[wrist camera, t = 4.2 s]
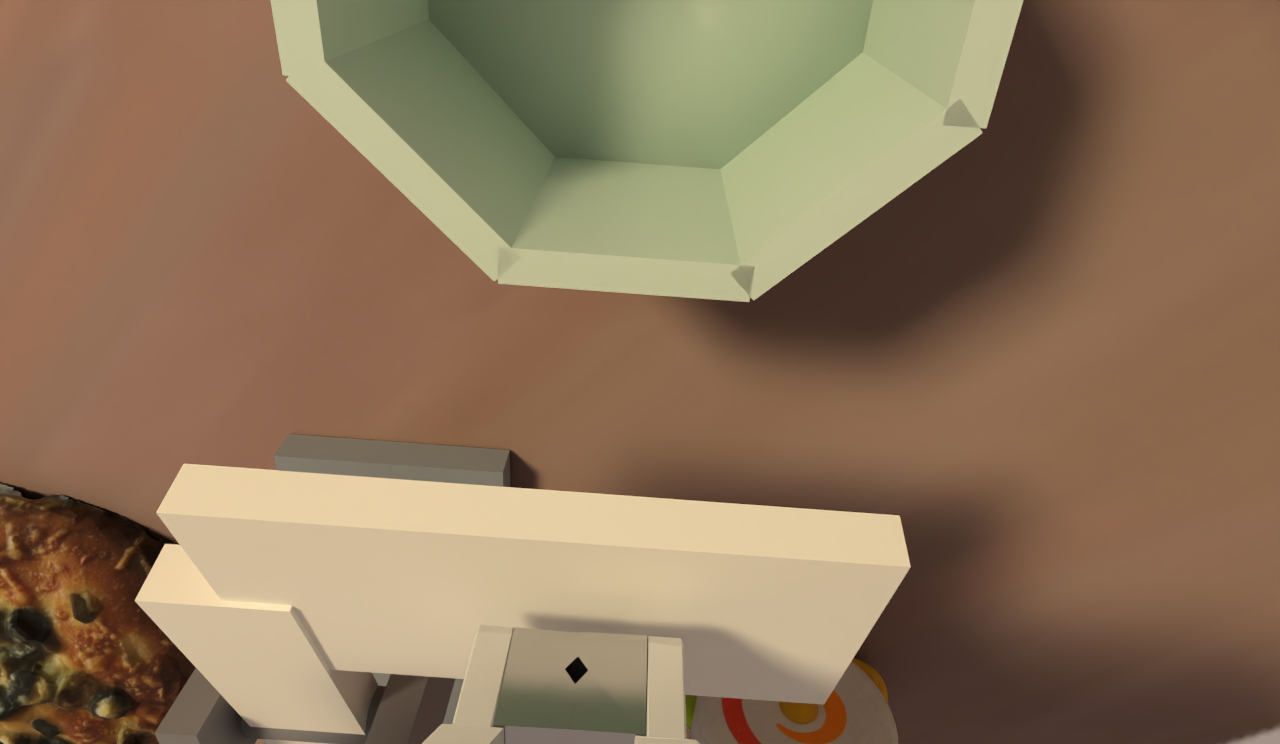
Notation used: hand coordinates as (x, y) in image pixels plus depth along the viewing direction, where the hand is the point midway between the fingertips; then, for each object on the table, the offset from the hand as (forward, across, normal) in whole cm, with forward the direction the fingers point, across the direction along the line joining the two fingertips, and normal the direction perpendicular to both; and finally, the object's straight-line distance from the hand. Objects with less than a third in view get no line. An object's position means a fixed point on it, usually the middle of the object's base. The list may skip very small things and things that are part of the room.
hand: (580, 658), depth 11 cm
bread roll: (+10, +17, +11) cm, 23 cm away
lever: (+5, +2, +10) cm, 11 cm away
